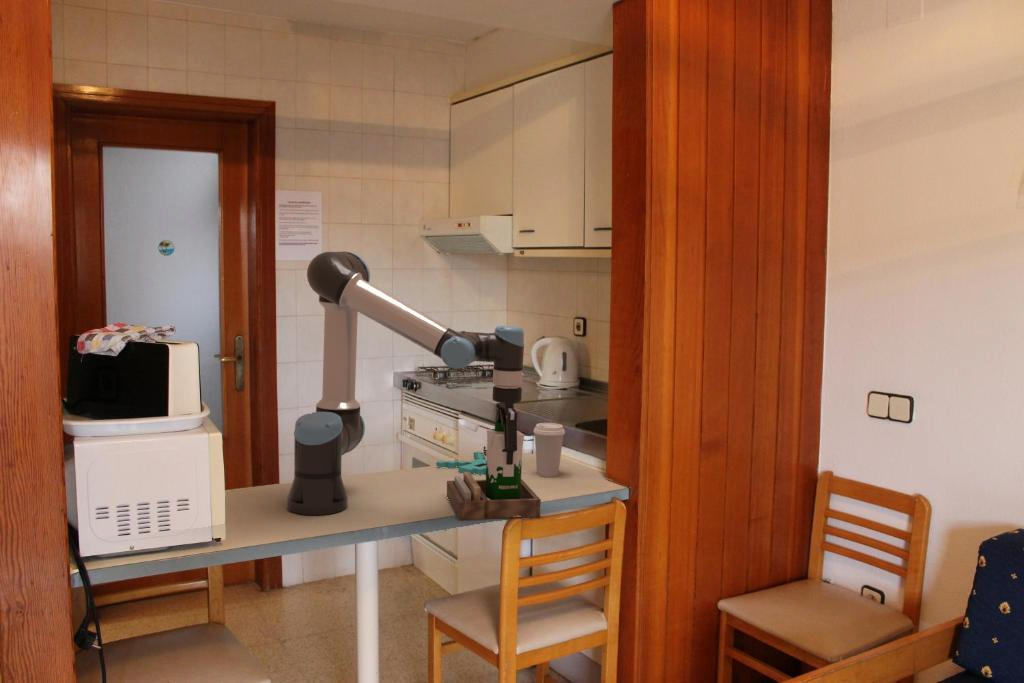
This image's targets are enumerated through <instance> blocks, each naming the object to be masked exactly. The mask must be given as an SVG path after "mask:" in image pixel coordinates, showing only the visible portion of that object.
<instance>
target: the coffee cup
mask: <svg viewBox="0 0 1024 683" xmlns="http://www.w3.org/2000/svg"><path fill="white" fill-rule="evenodd" d="M533 433H534V441H535V442H534V443H535V444H534V445H535V462H536V463H535V464H536V465H535V466H536V475H537V476H539V477H543V478H554V477H555V478H556V477H558V476H559V474H560V473H559V471H560V463H561V457H562V449H563V441H564V435H565V434H566V430H565V429H564V426H563V425H562V424H559V423H554V422H540V423H536V425H535V427H534V428H533Z"/></svg>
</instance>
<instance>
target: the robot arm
mask: <svg viewBox="0 0 1024 683" xmlns="http://www.w3.org/2000/svg"><path fill="white" fill-rule="evenodd" d="M370 276H371V273H370V269H369V266H368V263H367V262H366V261H365V260H364V259H363V257H361V256H359V255H358V254H356V253H353V252H349V251H324V252H321V253H319V254H317V255H316V256H315V257H313V258H312V260H311V261H310V263H309V265H308V267H307V271H306V278H307V282H308V284H309V286H310V287H311V289H312V291H313V292H314V293H316V294H317V295H318V303H319V304H320V305H321V306H322V307H323V309H324V320H323V322H324V324H323V325H324V326H323V327H324V328H323V331H324V332H323V357H322V358H323V361H322V362H323V365H322V367H323V368H322V392H321V396H322V398H321V399H320V400H319V401H318V402H317V403H316V405H315V406H316V407H315V412H311V413H305V414H303V415H301V416H300V417H298V418H297V420H296V421H295V424H294V431H293V436H294V463H293V464H294V475H293V476H294V478H293V481H292V484H291V487H290V489H289V492H288V495H287V499H286V509H287V510H288V511H290V513H291V512H292V513H294V514H300V515H306V516H317V515H318V516H323V515H331V514H336V513H340V512H343V511H344V510H346V509H347V508H348V507H349V505H348V504H349V498H348V494H347V491H346V488H345V484H344V480H343V478H342V457H343V455H345V454H348V453H350V452H352V451H353V450H354V449H356V448H357V446H359V444H360V443H361V441H362V440H363V438H364V435H365V430H366V428H365V427H366V425H365V421H364V419H363V417H362V415H361V404H360V402H358V401H357V400H356V378H357V376H356V375H357V374H356V372H357V344H358V342H357V341H358V340H357V339H358V313H360V314H361V315H363V316H365V317H366V318H369V319H370V320H372V321H374V322H376V323H377V324H380V325H381V326H383V327H384V328H387V329H388V330H390V331H391V332H393V333H395V334H397V335H399V336H401V337H403V338H405V339H406V340H407V341H410V342H412V343H413V344H415V345H417V346H418V347H421V348H422V349H424V350H426V351H427V352H429V353H430V354H433V355H435V356H436V357H437V358H440V359H441V360H442V362H443V364H444V365H446V366H447V367H449V368H451V369H454V370H455V369H458V370H459V369H463V368H467V367H468V366H470V365H471V364H472V363H474V362H480V363H481V362H483V363H484V362H485V363H486V362H487V363H493V371H492V374H493V375H492V376H493V377H492V384H493V387H492V397H491V398H492V401H494V402H496V404H495V406H496V407H495V409H496V410H495V411H496V412H495V422H497V421H498V422H499V423H501V425H502V426H503V427H504V443H505V449H503V450H502V452H504V454H503V477H514V455H515V451H517V431H518V424H517V422H518V411H516V408H515V405H514V404H515V403H520V402H521V401H522V394H523V388H522V387H521V386H522V385H523V378H524V377H525V373H523V370H524V369H523V368H524V355H525V354H524V350H525V349H524V348H525V339H524V338H525V336H524V335H525V334H524V333H525V331H524V329H523V328H522V327H520V326H515V325H497V326H496V327H495V328H494V332H477V331H475V332H474V331H466V330H460V331H458V330H457V331H455V330H454V329H451V328H450V327H449V326H448V325H447V326H446V325H445V324H443V323H442V322H440V321H438V320H436V319H434V318H432V317H431V316H429V315H427V314H425V313H423V312H422V311H420V310H418V309H416V308H415V307H413V306H411V305H410V304H407V303H406V302H404V301H402V300H400V299H399V298H397V297H395V296H394V295H391V294H389V293H388V292H386V291H385V290H382V289H380V288H379V287H377V286H375V285H374V284H372V283H370V279H371V277H370ZM495 422H494V423H495Z"/></svg>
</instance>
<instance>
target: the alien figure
mask: <svg viewBox="0 0 1024 683" xmlns="http://www.w3.org/2000/svg"><path fill="white" fill-rule="evenodd" d="M486 461H487V458H486V456H485V454H484V451H483V452H482V451H479V450H477V451H474V452H473V460H468V461H465V460H460V461H454V460H449V461H444V460H439V461H436V466H438V467H436V466H435V467H436V469H440V468H441V467H448V468H447V469H451V468H452V469H451V470H454V469H457V468H458V470H457V471H458V472H460V473H459V474H461V473H464V472H469V473H470V474H473V475H476V474H479V475H478V476H482V475H481V474H484V475H486ZM456 466H457V467H456ZM474 473H475V474H474Z"/></svg>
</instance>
